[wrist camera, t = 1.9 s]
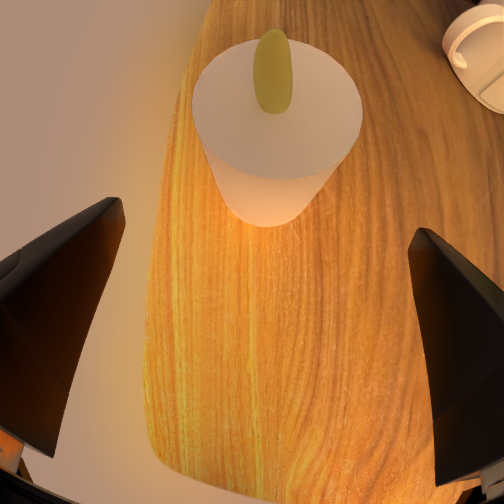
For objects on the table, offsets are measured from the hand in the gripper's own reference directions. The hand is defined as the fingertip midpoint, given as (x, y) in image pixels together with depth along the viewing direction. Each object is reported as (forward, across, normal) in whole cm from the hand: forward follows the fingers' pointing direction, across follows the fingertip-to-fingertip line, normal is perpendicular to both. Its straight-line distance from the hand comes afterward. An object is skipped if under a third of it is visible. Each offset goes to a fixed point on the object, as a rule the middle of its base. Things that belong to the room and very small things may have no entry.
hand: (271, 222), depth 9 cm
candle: (+12, 0, +5) cm, 13 cm away
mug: (+23, -20, -6) cm, 31 cm away
